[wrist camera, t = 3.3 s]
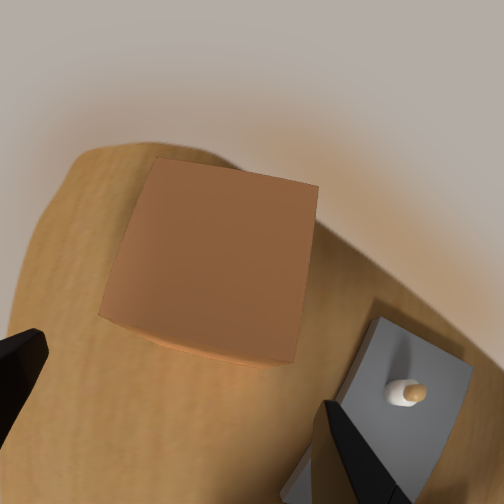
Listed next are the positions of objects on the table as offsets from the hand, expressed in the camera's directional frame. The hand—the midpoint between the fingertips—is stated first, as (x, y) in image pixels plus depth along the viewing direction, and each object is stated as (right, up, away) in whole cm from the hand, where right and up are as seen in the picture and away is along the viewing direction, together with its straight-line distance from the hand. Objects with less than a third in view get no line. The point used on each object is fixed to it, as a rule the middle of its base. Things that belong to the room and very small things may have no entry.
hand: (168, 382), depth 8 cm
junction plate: (+11, -8, +9) cm, 16 cm away
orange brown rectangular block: (+1, 0, +11) cm, 11 cm away
